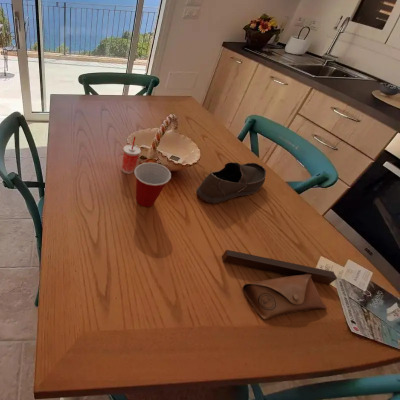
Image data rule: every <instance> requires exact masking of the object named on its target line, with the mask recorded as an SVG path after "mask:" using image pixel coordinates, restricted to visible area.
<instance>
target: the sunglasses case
mask: <svg viewBox="0 0 400 400" xmlns="http://www.w3.org/2000/svg"><path fill="white" fill-rule="evenodd" d="M242 293H243V294H244V296H245V297H246V299H247V301H248V302H249V304H250V305H251V306H252V308H253V309H254V311H255V312H256V313H257V314H258V315H259V317H260V318H261V319H263V320H269V319H272V318H275V317H278V316H282V315H286V314H292V313H298V312H303V311H304V312H305V311H311V310H326V309H328V306H326V304H325V303H324V302H323V300H322V298H321V296H320V293H319V291H318V289H317V287H316V285H315V283H314V281H312V279H311V275H310V274H304V275H295V276H283V277H276V278H275V277H274V278H269V279H263V280H257V281H253V282H249V283H245V284H244V285H243V286H242Z"/></svg>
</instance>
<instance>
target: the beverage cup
mask: <svg viewBox="0 0 400 400" xmlns="http://www.w3.org/2000/svg"><path fill="white" fill-rule="evenodd" d="M135 141H136V136H135V135H134V136H133V141H132V144H126V145H124V146H123V149H122V150H123V154H122V155H123V156H122V163H121V164H122V165H121V171H122V173H124V174H129V175H130V174H134V172H135V168H136V167H137V166H136V165H137V162H138V159H139V155H140V154H141V152H142V151H141V148H140V147H139V146H138V145H135Z"/></svg>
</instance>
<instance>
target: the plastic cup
mask: <svg viewBox="0 0 400 400" xmlns="http://www.w3.org/2000/svg"><path fill="white" fill-rule="evenodd" d="M133 174H134V176H135V181H136V183H135V184H136V185H135V193H136V195H135V202H136V203H137V204H138V205H139V206H141V207H143V208H144V207H145V208H150V207H152V206H153V205H154V204H155V202H156V201H157V199H158V198H159V196H160V194H161V193H162V191H163V189H164V188H165V186H166V184H167V183H168V182H169V181H170V180H171V178H172V173H171V171H170V170H169V168H167V167H166V166H164V164H160V163H157V162H149V161H148V162H143V163H141V164H138V165H137V166H135V169H134V172H133Z"/></svg>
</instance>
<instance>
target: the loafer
mask: <svg viewBox="0 0 400 400" xmlns="http://www.w3.org/2000/svg"><path fill="white" fill-rule="evenodd" d="M266 175H267V170H266V168H265V167H264V166H263V165H261V164H259V163H257V162H247V163H244V164H241V163H239V162H232V161H229V162H226V163H225V164H224V167H223V168H222V169H220V170H215V171H210V172H209V174H207V175H206V176H205V178H204V179H203V180H202V182H201V183H200V186H198V188H196V191H195V192H196V195H197V196H198V197H199V198H200V199H201V200H203V201H204V202H206V203H209V204H219V203H223V202H225V201H226V202H227V201H229V200H231V199H234V198H237V197H245V196H251V195H253V194H255V193H257V192H258V191H259V190H261V188H262V187H263V185H264V183H265V181H266Z"/></svg>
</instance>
